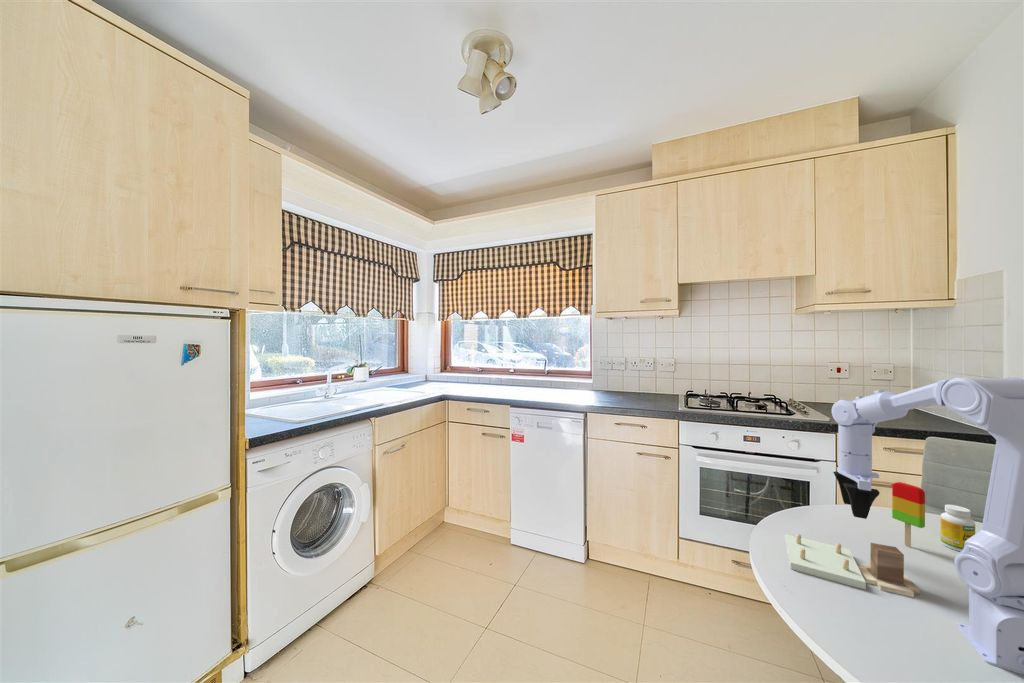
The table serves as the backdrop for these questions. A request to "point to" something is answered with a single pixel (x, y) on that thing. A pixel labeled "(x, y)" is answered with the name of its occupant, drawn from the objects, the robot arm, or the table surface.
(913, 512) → the popsicle
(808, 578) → the table surface
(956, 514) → the supplement bottle
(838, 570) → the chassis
